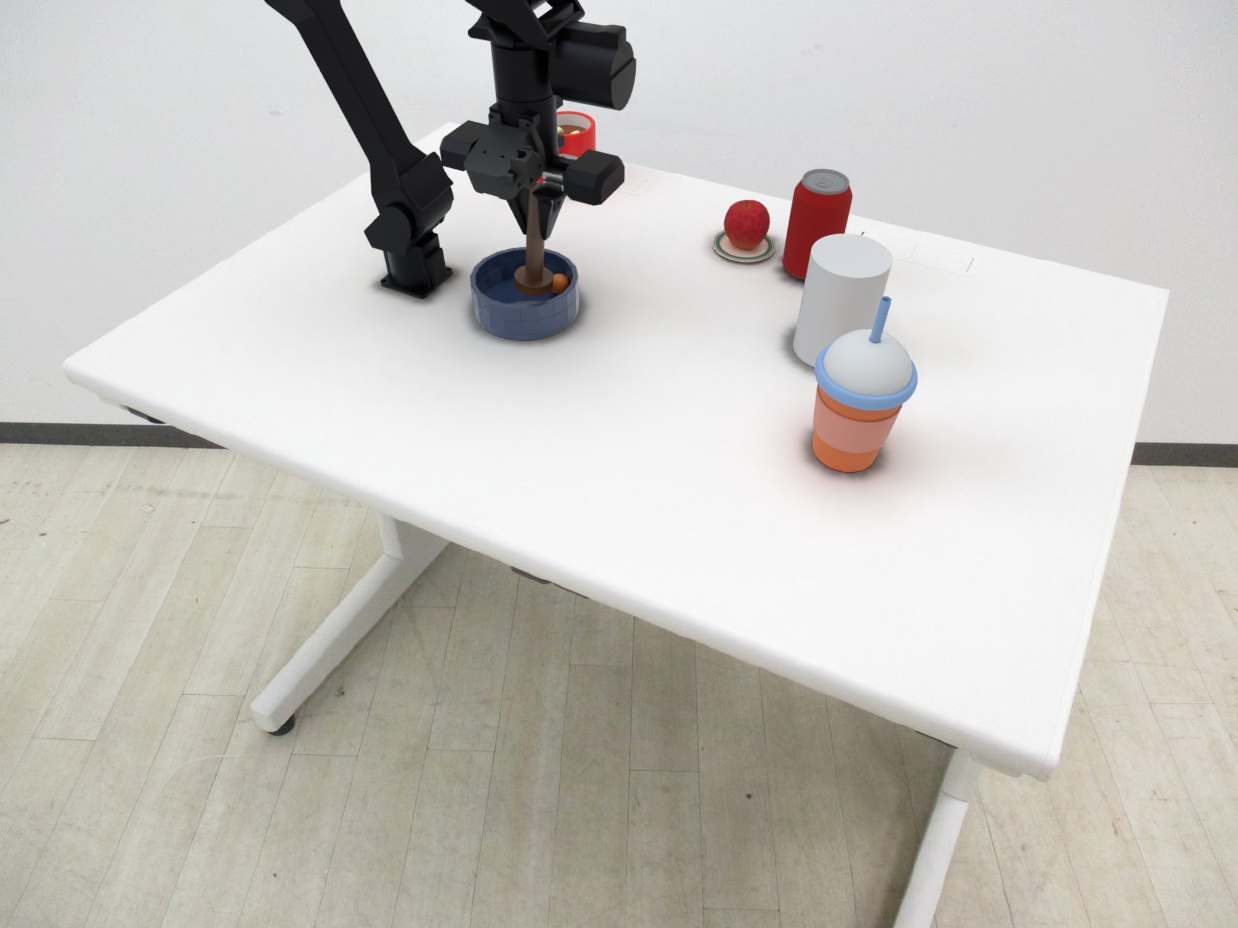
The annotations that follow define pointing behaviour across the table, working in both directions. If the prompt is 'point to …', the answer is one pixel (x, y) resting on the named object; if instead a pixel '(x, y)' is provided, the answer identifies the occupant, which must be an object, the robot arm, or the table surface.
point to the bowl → (522, 297)
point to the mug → (575, 133)
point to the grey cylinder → (840, 291)
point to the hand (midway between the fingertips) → (536, 236)
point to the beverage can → (815, 216)
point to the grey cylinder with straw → (860, 394)
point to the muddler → (533, 254)
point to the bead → (560, 283)
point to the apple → (745, 233)
